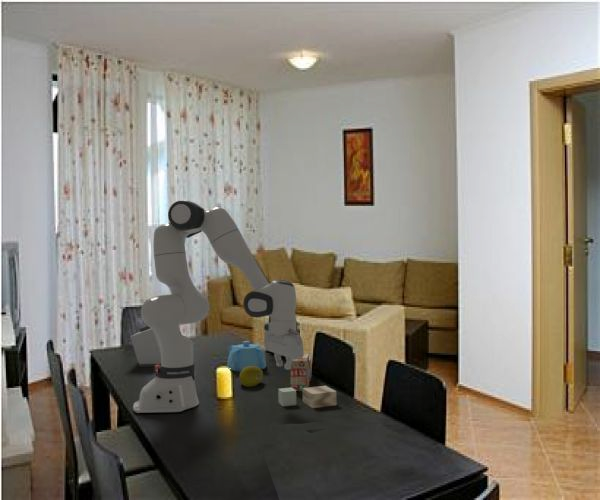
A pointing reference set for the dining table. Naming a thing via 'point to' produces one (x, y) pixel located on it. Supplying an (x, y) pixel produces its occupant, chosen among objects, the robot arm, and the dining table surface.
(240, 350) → the decorative pot
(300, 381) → the cardboard box
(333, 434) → the dining table surface
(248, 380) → the lemon
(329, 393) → the birch base block
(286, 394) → the sage cube
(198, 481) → the dining table surface
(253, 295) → the robot arm
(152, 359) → the alarm clock
